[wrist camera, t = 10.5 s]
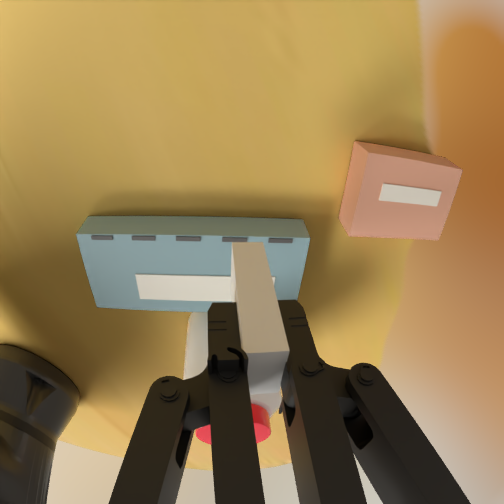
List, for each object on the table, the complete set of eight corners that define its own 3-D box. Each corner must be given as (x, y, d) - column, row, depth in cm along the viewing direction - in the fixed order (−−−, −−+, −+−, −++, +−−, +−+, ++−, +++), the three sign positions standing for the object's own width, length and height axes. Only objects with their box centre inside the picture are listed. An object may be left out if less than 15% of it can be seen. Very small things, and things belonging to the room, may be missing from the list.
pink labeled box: (338, 218, 23) (349, 237, 21) (354, 140, 20) (369, 153, 18) (423, 223, 24) (439, 241, 22) (444, 157, 21) (463, 170, 18)
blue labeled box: (104, 287, 26) (96, 308, 24) (88, 216, 22) (75, 234, 20) (289, 291, 27) (294, 313, 25) (302, 219, 23) (310, 238, 21)
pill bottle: (172, 329, 29) (160, 436, 20) (222, 282, 26) (224, 403, 17) (234, 359, 33) (239, 456, 24) (287, 321, 30) (308, 428, 21)
